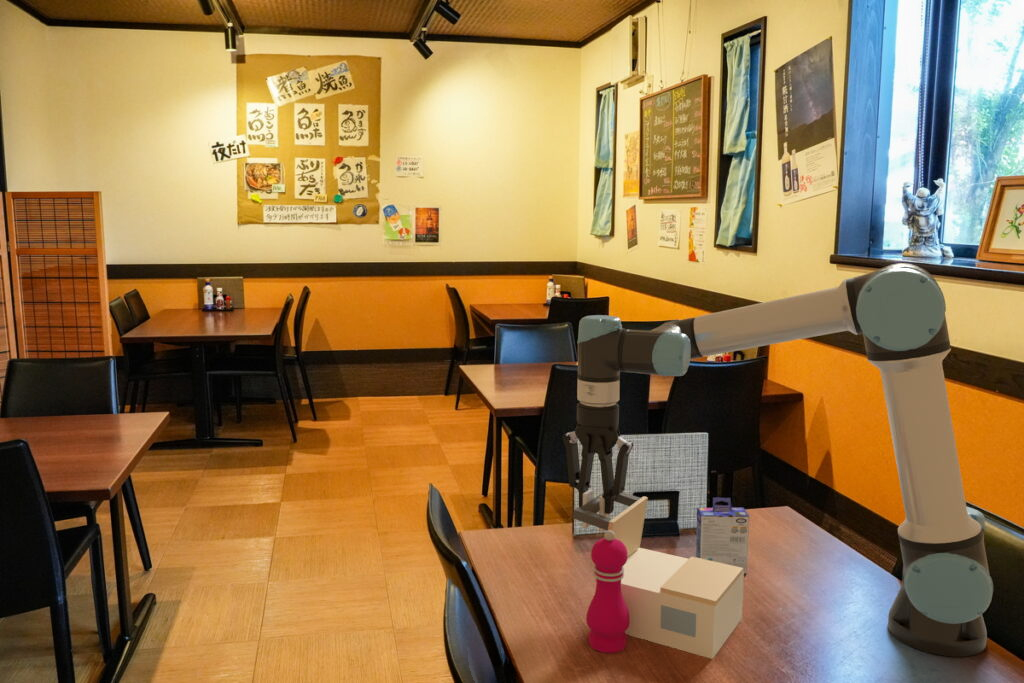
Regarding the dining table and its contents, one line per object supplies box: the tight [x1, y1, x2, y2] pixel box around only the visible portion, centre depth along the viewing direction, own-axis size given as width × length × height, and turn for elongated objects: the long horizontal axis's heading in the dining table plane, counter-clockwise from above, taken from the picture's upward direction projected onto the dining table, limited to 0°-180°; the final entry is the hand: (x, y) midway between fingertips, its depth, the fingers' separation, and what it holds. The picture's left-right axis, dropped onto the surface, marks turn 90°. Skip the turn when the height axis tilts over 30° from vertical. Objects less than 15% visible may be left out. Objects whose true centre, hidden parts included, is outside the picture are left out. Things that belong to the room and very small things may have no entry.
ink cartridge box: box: [695, 497, 750, 575], centre depth 171 cm, size 10×6×14 cm, turn 89°
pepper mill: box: [585, 530, 630, 654], centre depth 141 cm, size 7×7×20 cm
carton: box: [621, 547, 745, 660], centre depth 149 cm, size 20×16×10 cm
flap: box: [572, 491, 649, 556], centre depth 154 cm, size 10×15×8 cm
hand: (595, 527), depth 155 cm, fingers open, 3 cm apart
